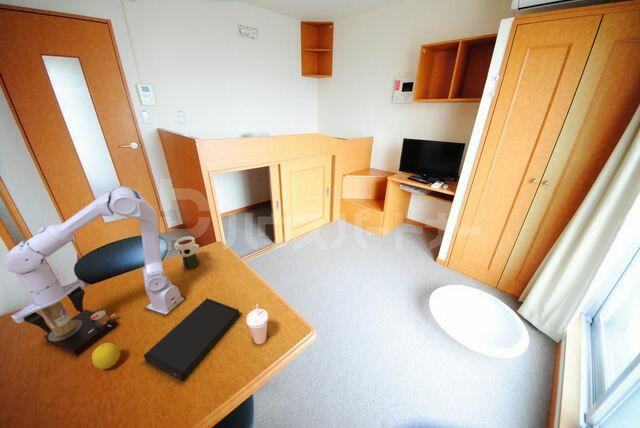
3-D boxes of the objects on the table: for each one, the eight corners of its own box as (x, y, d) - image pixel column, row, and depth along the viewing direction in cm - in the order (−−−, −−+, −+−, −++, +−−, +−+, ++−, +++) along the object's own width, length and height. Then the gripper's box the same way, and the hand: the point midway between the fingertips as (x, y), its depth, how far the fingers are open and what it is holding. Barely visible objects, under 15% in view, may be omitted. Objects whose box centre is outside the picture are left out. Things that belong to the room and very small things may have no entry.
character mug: (175, 269, 105) (167, 244, 99) (184, 259, 111) (178, 235, 106) (199, 270, 104) (193, 245, 99) (207, 260, 111) (201, 236, 105)
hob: (126, 322, 80) (123, 316, 78) (80, 357, 69) (76, 351, 67) (94, 310, 84) (91, 304, 83) (47, 341, 73) (43, 335, 72)
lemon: (103, 379, 63) (91, 360, 60) (95, 368, 66) (83, 349, 63) (127, 362, 68) (117, 343, 64) (118, 352, 70) (108, 333, 67)
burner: (88, 324, 76) (88, 323, 76) (58, 344, 69) (58, 344, 69) (73, 317, 78) (72, 316, 78) (42, 337, 71) (42, 336, 71)
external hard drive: (239, 316, 83) (238, 309, 81) (183, 382, 63) (180, 375, 62) (208, 304, 87) (206, 298, 86) (146, 362, 68) (142, 355, 66)
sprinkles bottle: (73, 331, 73) (53, 299, 67) (53, 339, 71) (30, 305, 65) (77, 321, 76) (57, 289, 71) (57, 327, 74) (35, 295, 68)
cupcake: (106, 316, 78) (101, 308, 77) (111, 321, 77) (107, 312, 75) (92, 324, 76) (87, 316, 74) (98, 329, 74) (93, 320, 72)
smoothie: (274, 333, 77) (271, 301, 71) (263, 351, 71) (259, 317, 65) (257, 327, 79) (252, 295, 73) (245, 344, 73) (239, 311, 67)
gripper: (66, 266, 72) (84, 299, 78) (-6, 300, 59) (22, 337, 65) (81, 271, 70) (99, 305, 76) (10, 307, 57) (38, 344, 63)
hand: (64, 320), depth 70 cm, fingers open, 7 cm apart
